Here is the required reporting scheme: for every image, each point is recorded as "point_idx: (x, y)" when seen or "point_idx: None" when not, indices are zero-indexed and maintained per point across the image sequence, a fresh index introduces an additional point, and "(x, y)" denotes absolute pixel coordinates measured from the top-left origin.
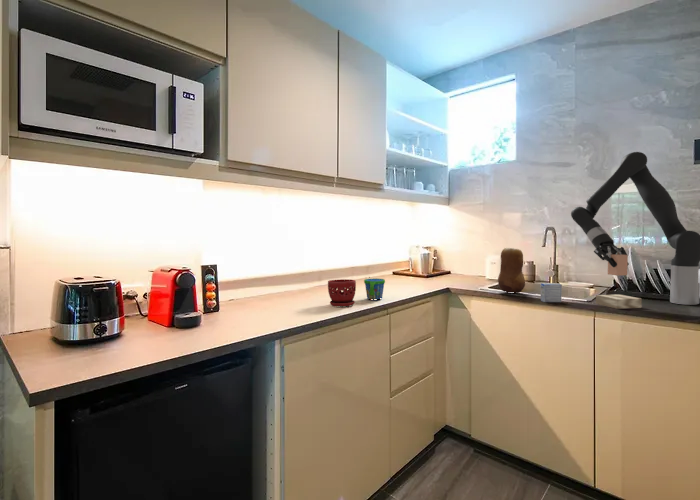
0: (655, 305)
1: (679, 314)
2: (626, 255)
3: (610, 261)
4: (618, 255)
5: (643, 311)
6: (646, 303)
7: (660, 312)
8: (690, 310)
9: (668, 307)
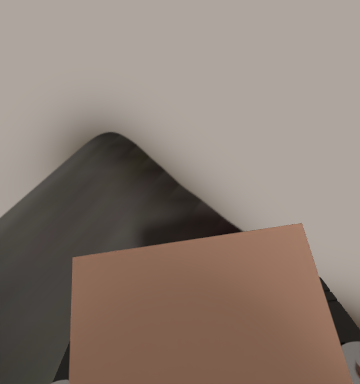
0: (43, 316)
1: (114, 156)
2: (101, 257)
3: (344, 325)
4: (277, 227)
5: (193, 197)
6: (35, 372)
7: (147, 182)
8: (16, 214)
9: (34, 270)
